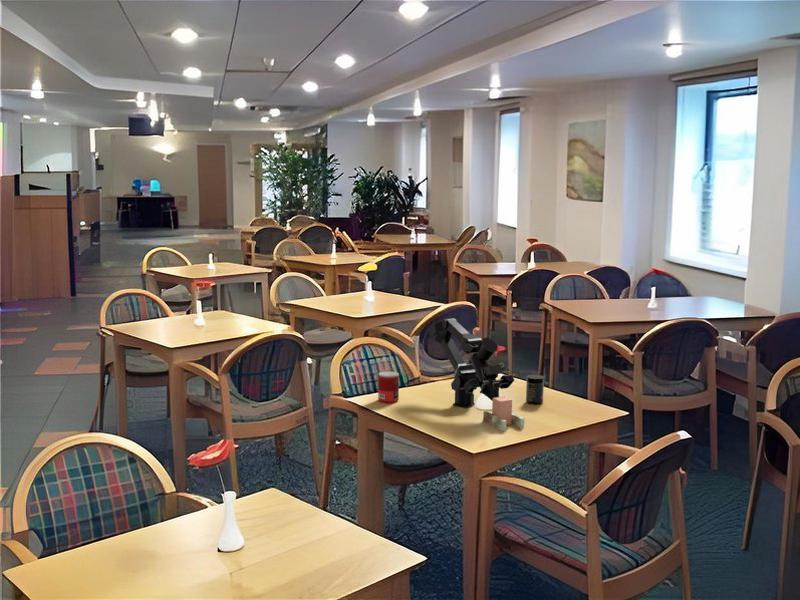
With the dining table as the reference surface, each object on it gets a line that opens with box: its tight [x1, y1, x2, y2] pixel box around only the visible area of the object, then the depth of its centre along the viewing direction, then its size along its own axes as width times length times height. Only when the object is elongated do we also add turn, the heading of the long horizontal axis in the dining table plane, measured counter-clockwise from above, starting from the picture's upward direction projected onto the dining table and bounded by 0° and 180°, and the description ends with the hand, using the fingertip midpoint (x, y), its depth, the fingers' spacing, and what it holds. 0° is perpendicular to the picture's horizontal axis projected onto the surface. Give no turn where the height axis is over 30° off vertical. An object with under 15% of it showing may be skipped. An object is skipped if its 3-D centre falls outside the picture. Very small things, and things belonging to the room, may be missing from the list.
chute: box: [482, 410, 525, 432], centre depth 301 cm, size 13×9×4 cm
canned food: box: [377, 370, 400, 404], centre depth 329 cm, size 8×8×11 cm
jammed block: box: [491, 396, 513, 426], centre depth 301 cm, size 5×5×9 cm
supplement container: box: [525, 374, 545, 406], centre depth 329 cm, size 7×7×10 cm
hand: (497, 403), depth 303 cm, fingers closed, pressing on jammed block
